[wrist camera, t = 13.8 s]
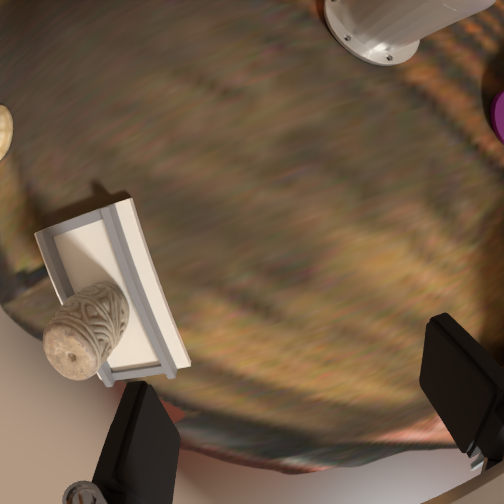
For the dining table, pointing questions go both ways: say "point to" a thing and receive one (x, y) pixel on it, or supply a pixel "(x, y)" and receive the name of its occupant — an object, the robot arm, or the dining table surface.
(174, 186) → the dining table surface
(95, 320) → the carving
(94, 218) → the rail plate
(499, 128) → the mounting bracket
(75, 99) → the dining table surface
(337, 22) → the robot arm
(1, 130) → the hand bell
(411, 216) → the dining table surface
